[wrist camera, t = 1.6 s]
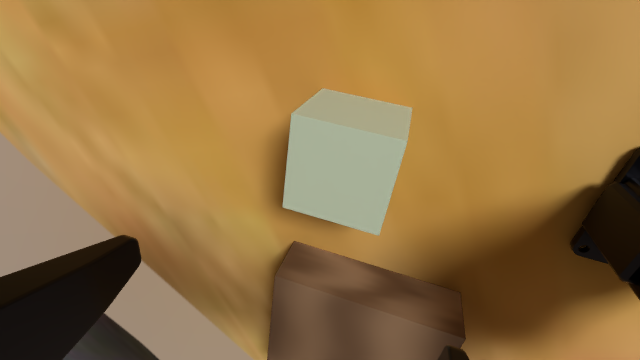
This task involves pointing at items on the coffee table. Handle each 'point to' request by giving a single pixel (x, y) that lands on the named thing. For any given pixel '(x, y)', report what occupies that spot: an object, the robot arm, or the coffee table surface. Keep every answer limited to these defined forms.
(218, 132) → the coffee table surface
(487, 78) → the coffee table surface
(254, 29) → the coffee table surface
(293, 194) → the sage cube
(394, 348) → the walnut block
